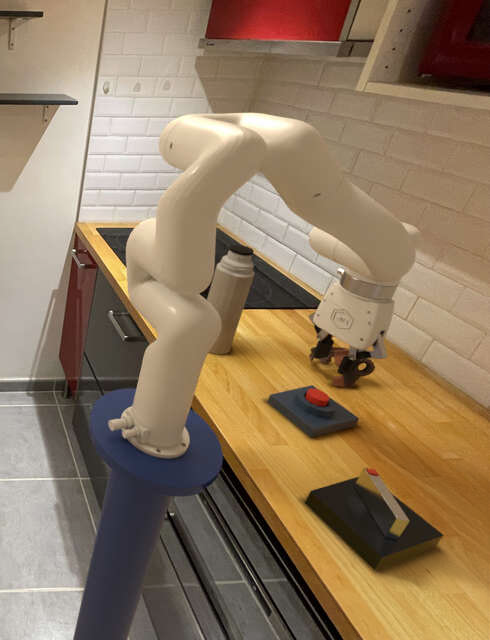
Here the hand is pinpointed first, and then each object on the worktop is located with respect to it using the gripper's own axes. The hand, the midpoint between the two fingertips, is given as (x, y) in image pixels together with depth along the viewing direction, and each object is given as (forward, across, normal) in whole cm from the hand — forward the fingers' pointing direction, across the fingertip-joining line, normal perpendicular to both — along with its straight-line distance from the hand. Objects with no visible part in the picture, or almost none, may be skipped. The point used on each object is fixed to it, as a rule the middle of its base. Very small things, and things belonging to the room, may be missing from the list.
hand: (332, 363), depth 89 cm
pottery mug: (+14, -8, +18) cm, 24 cm away
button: (+10, 0, 0) cm, 10 cm away
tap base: (+13, +21, -14) cm, 29 cm away
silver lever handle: (+10, +21, -14) cm, 27 cm away
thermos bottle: (+14, -25, -2) cm, 28 cm away
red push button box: (+13, 0, 0) cm, 13 cm away
